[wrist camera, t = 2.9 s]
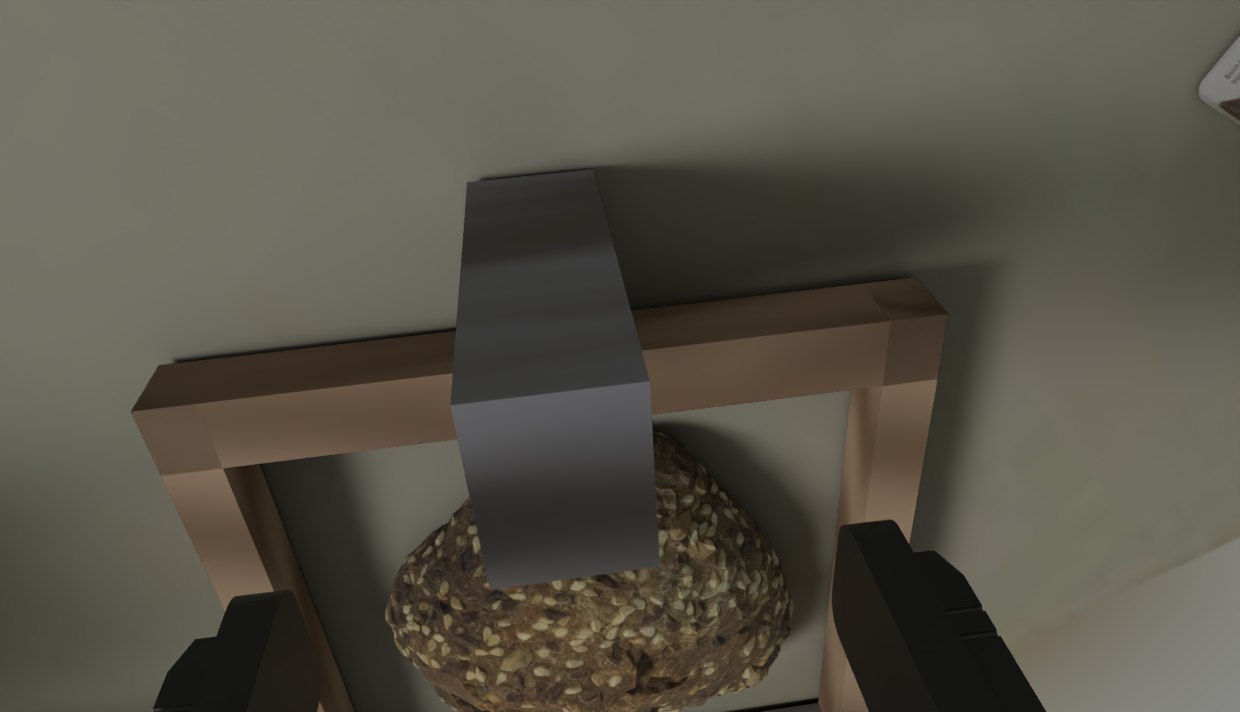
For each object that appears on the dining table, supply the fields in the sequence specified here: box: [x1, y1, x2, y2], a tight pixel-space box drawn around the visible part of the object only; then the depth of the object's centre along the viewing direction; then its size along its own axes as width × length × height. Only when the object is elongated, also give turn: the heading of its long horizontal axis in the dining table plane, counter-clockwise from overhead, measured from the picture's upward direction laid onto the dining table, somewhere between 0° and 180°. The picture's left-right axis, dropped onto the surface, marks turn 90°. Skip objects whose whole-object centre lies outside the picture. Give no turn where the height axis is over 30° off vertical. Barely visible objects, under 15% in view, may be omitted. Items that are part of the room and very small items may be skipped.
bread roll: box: [385, 431, 795, 712], centre depth 27 cm, size 13×12×5 cm
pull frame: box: [131, 169, 949, 712], centre depth 23 cm, size 24×20×9 cm
